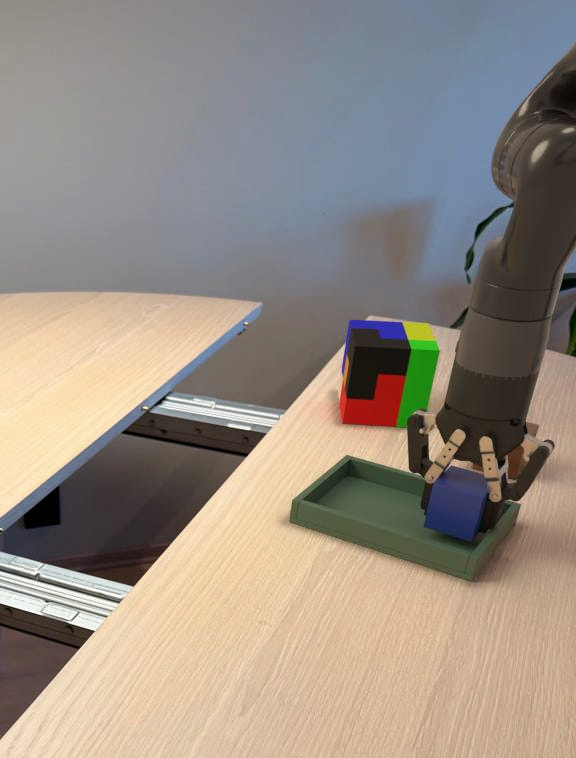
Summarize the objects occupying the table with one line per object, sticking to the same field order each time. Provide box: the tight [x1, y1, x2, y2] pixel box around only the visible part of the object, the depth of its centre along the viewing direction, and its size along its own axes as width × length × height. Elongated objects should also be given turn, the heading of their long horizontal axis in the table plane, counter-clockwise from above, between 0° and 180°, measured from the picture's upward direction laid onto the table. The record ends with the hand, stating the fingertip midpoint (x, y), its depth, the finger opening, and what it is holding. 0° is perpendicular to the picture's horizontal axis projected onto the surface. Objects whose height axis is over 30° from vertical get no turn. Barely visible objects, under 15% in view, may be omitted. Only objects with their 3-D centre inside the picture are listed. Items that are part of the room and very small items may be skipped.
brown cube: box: [471, 421, 540, 480], centre depth 114 cm, size 5×5×5 cm
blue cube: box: [424, 464, 489, 542], centre depth 99 cm, size 5×5×5 cm
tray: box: [288, 454, 522, 582], centre depth 103 cm, size 20×14×3 cm
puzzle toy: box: [337, 319, 441, 428], centre depth 125 cm, size 10×10×10 cm
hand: (456, 520), depth 100 cm, fingers closed on blue cube, 5 cm apart
